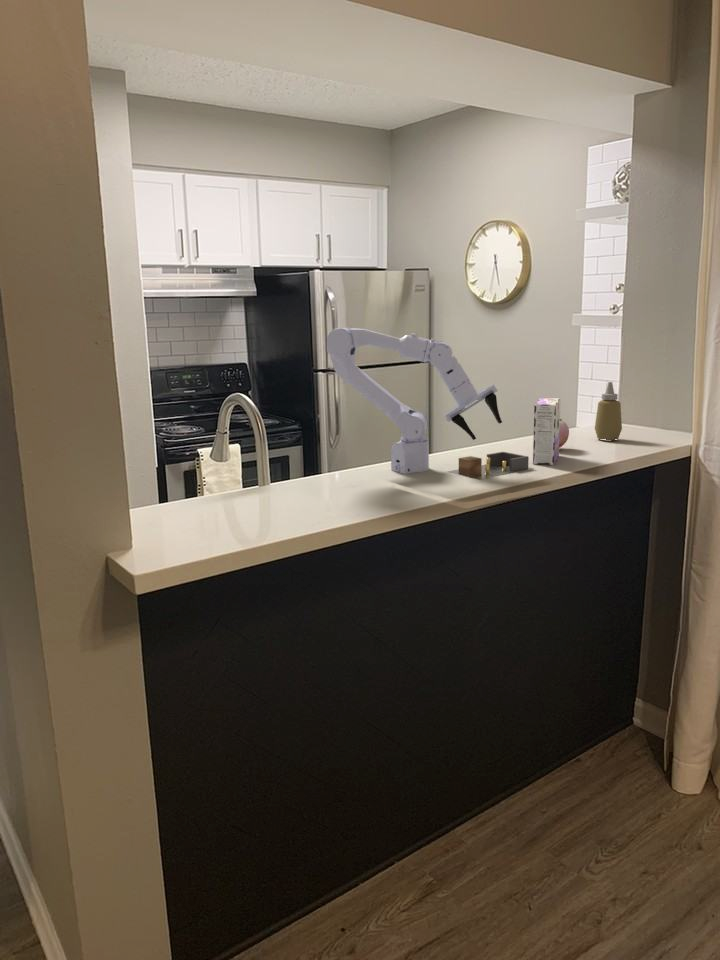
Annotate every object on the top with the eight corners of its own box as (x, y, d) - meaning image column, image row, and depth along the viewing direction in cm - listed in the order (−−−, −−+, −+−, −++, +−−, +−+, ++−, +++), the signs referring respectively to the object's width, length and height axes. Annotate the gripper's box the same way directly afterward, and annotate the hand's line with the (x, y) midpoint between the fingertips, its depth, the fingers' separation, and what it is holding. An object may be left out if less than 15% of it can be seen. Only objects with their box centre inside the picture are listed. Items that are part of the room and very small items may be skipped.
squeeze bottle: (615, 437, 246) (618, 380, 242) (625, 441, 238) (628, 383, 234) (590, 438, 246) (592, 381, 242) (599, 442, 238) (602, 383, 234)
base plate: (478, 484, 188) (478, 469, 188) (446, 476, 198) (446, 461, 197) (534, 473, 199) (534, 459, 198) (501, 466, 208) (501, 452, 208)
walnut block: (469, 476, 192) (469, 460, 191) (458, 473, 195) (458, 458, 194) (481, 474, 194) (481, 458, 193) (470, 471, 197) (470, 456, 196)
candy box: (538, 455, 222) (539, 397, 219) (559, 455, 220) (561, 397, 217) (532, 464, 209) (533, 403, 206) (554, 465, 208) (556, 403, 204)
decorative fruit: (540, 446, 235) (541, 413, 232) (568, 447, 233) (569, 413, 230) (539, 452, 226) (540, 418, 224) (568, 453, 224) (569, 418, 222)
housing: (511, 471, 196) (512, 459, 195) (486, 465, 203) (486, 454, 203) (528, 468, 199) (528, 456, 198) (502, 462, 207) (503, 451, 206)
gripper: (436, 400, 192) (465, 447, 193) (486, 369, 191) (515, 415, 193) (433, 400, 199) (461, 445, 200) (482, 369, 198) (509, 415, 200)
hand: (487, 430), depth 197 cm, fingers open, 7 cm apart
